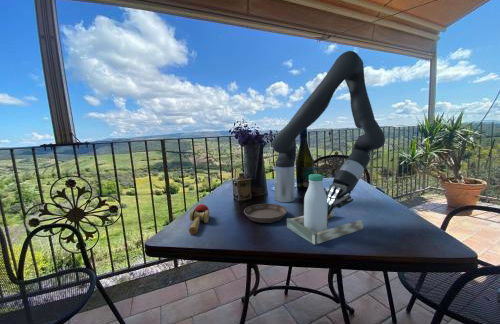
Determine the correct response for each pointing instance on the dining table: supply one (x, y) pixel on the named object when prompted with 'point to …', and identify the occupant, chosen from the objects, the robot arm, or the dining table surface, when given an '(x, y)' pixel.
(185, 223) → the dining table surface
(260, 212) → the plant saucer
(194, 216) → the kendama
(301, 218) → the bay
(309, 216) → the milk bottle
